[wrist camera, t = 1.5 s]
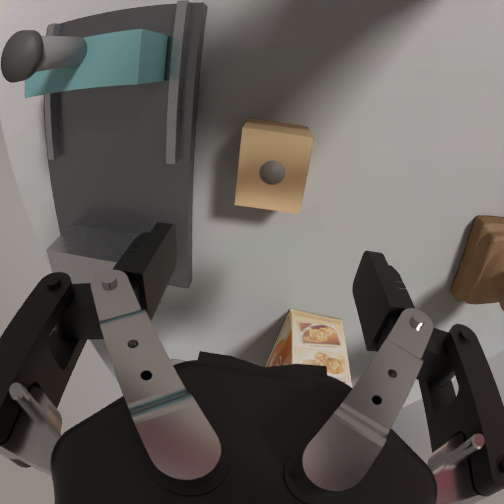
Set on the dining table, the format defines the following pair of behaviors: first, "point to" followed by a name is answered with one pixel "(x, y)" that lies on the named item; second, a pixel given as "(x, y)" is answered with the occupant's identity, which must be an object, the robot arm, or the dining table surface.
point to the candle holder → (482, 264)
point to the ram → (83, 60)
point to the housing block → (273, 165)
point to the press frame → (126, 148)
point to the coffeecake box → (312, 344)
